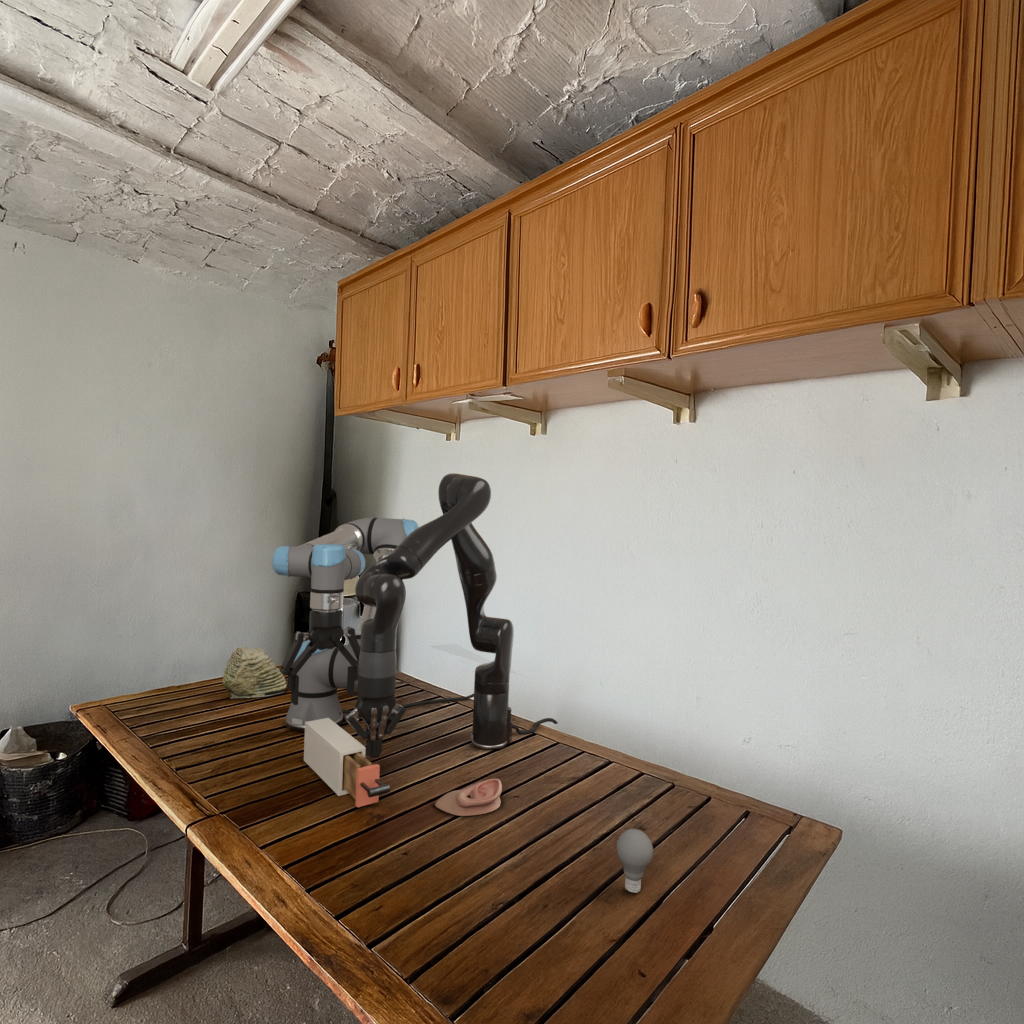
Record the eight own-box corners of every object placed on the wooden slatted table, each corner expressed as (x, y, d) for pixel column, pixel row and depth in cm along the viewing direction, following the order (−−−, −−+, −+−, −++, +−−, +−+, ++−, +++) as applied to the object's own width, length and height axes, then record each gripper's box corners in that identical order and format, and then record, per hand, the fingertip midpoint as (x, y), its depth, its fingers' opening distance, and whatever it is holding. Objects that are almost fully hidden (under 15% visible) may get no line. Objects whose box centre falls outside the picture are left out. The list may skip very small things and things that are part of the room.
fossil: (218, 695, 195) (220, 647, 195) (278, 685, 208) (279, 640, 207) (228, 703, 189) (230, 653, 188) (289, 692, 201) (290, 645, 201)
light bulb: (610, 879, 108) (613, 822, 108) (644, 879, 109) (647, 822, 109) (619, 902, 102) (622, 840, 102) (655, 901, 103) (658, 840, 103)
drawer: (390, 812, 127) (391, 775, 127) (368, 818, 124) (370, 780, 124) (339, 766, 147) (341, 733, 147) (320, 770, 144) (321, 737, 144)
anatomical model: (430, 792, 129) (447, 769, 140) (429, 811, 129) (446, 787, 140) (494, 801, 126) (506, 777, 137) (493, 821, 126) (505, 795, 138)
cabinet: (364, 789, 138) (365, 747, 138) (338, 796, 134) (340, 752, 134) (327, 755, 155) (328, 717, 155) (303, 760, 151) (304, 721, 151)
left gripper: (277, 616, 139) (274, 712, 139) (382, 608, 154) (378, 694, 155) (267, 610, 145) (264, 702, 145) (368, 603, 160) (365, 686, 161)
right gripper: (353, 680, 121) (350, 770, 121) (415, 671, 129) (411, 756, 129) (338, 671, 127) (335, 757, 127) (398, 663, 135) (394, 743, 135)
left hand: (323, 698), depth 150 cm, fingers open, 13 cm apart
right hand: (373, 756), depth 128 cm, fingers closed
